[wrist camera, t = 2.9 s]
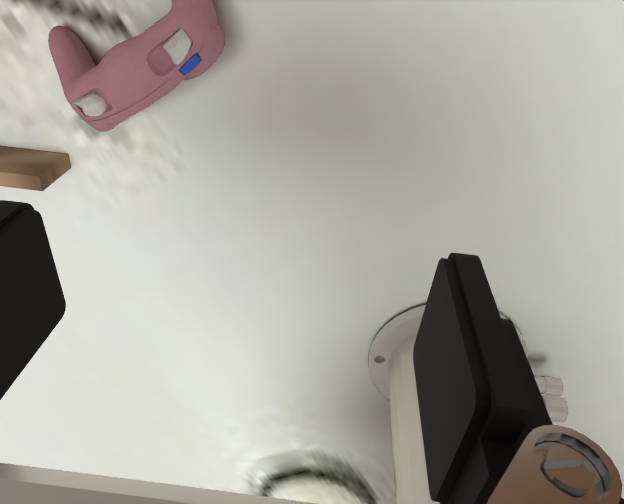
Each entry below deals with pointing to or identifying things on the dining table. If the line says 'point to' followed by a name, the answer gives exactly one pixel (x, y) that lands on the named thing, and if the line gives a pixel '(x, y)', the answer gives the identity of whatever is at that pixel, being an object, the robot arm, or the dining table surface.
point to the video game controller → (137, 64)
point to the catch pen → (31, 168)
